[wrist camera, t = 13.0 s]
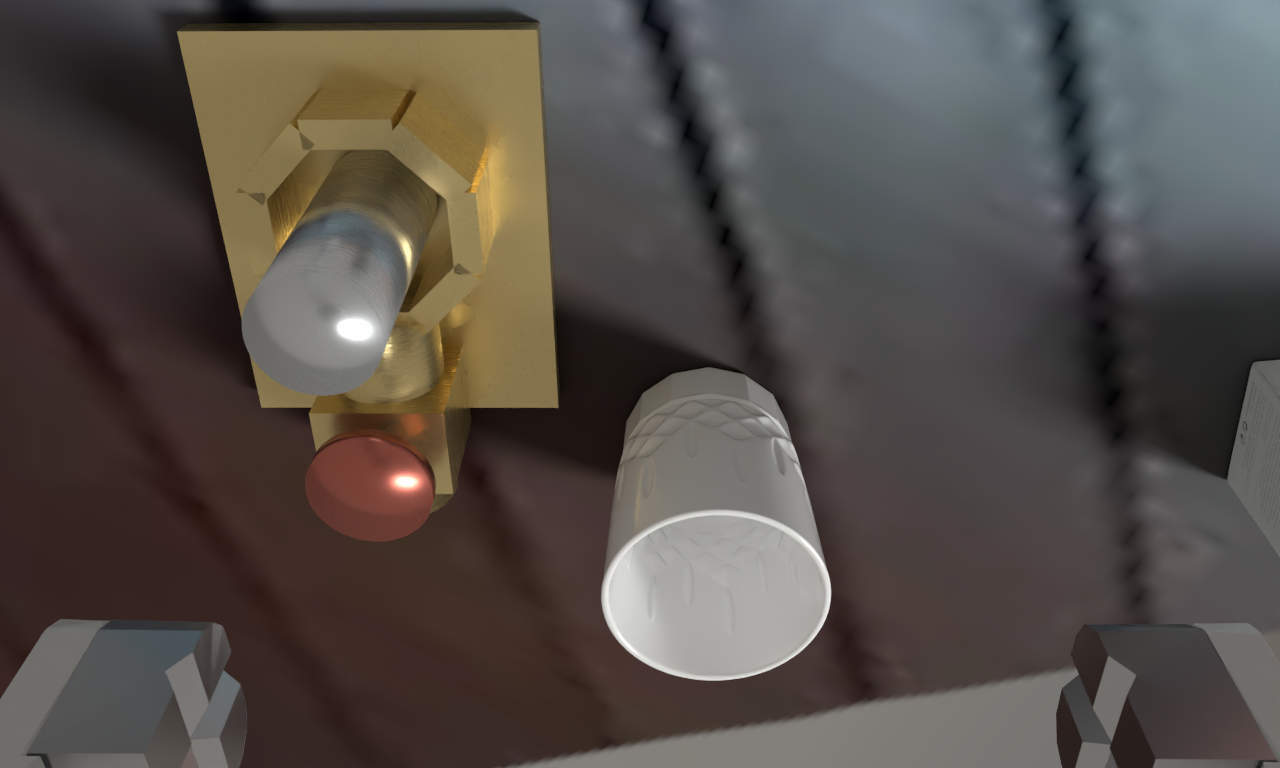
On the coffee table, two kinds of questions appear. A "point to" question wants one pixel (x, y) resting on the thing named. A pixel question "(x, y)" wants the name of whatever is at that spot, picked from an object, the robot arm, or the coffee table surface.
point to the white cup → (712, 533)
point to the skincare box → (1260, 450)
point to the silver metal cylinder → (341, 276)
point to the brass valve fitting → (452, 256)
